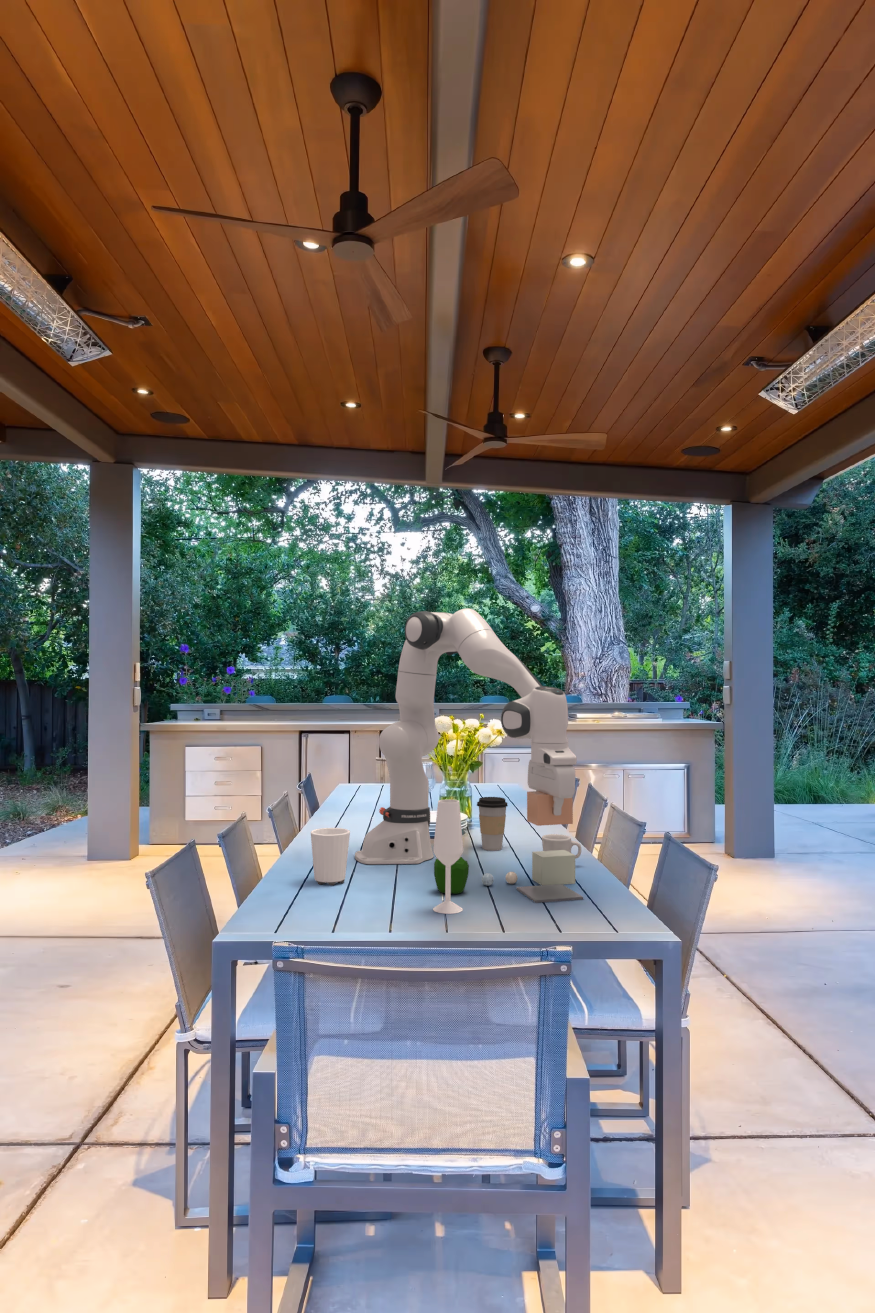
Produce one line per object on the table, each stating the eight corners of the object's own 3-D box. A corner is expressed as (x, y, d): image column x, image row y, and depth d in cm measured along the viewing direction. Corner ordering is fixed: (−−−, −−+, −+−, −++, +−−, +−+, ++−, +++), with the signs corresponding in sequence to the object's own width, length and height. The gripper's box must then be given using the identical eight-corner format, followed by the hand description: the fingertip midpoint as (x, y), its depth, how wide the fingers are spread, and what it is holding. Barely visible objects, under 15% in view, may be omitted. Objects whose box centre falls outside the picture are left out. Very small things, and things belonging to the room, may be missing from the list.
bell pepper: (472, 889, 199) (472, 847, 199) (464, 897, 191) (464, 854, 191) (439, 886, 201) (439, 845, 201) (429, 894, 193) (430, 852, 193)
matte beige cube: (542, 885, 202) (542, 857, 202) (532, 879, 208) (532, 851, 208) (575, 883, 205) (575, 855, 205) (564, 877, 211) (564, 850, 211)
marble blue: (497, 878, 201) (491, 889, 200) (494, 876, 204) (488, 886, 203) (486, 872, 201) (480, 883, 200) (484, 870, 203) (478, 880, 203)
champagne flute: (433, 904, 185) (434, 798, 185) (462, 905, 184) (463, 799, 185) (432, 913, 178) (433, 803, 178) (462, 914, 178) (463, 803, 178)
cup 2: (580, 863, 227) (580, 834, 227) (582, 870, 219) (582, 840, 219) (541, 862, 228) (541, 833, 228) (542, 869, 220) (542, 839, 220)
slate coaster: (535, 902, 187) (535, 900, 187) (516, 889, 198) (516, 887, 198) (583, 899, 190) (583, 896, 190) (561, 886, 202) (561, 884, 202)
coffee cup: (508, 852, 241) (509, 801, 241) (476, 851, 241) (477, 801, 241) (506, 845, 250) (506, 796, 250) (475, 845, 250) (476, 796, 250)
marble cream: (512, 886, 202) (505, 876, 202) (509, 886, 204) (501, 877, 205) (521, 878, 203) (513, 868, 203) (517, 879, 206) (510, 869, 206)
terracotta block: (537, 825, 190) (537, 795, 190) (527, 821, 196) (527, 791, 197) (572, 823, 193) (572, 793, 193) (561, 819, 199) (561, 790, 199)
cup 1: (301, 882, 204) (302, 831, 204) (332, 875, 211) (332, 826, 211) (327, 889, 197) (327, 836, 197) (357, 882, 204) (358, 831, 205)
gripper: (521, 751, 204) (521, 806, 204) (554, 758, 185) (555, 820, 184) (544, 750, 206) (544, 805, 206) (580, 758, 186) (580, 818, 186)
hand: (549, 812), depth 195 cm, fingers closed on terracotta block, 6 cm apart
